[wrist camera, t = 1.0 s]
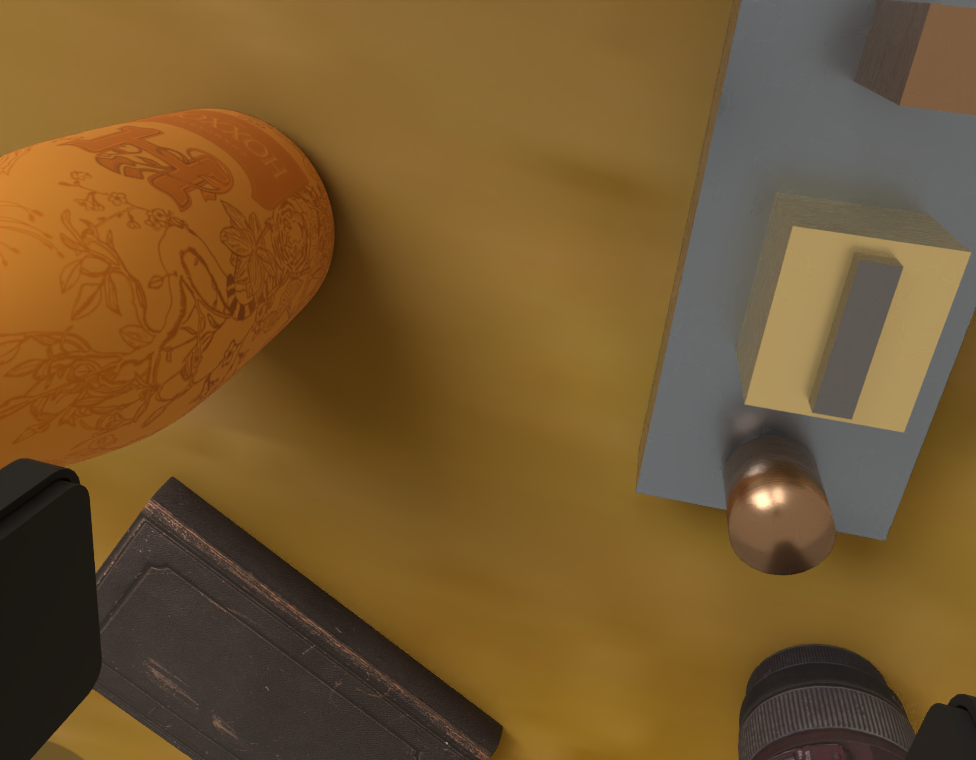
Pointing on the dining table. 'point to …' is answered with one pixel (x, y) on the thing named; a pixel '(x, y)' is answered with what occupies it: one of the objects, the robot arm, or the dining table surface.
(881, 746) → the camera lens
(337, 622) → the hardcover book
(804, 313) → the lever cap
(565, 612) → the dining table surface
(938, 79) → the hand plane
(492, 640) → the dining table surface
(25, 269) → the wine bottle
